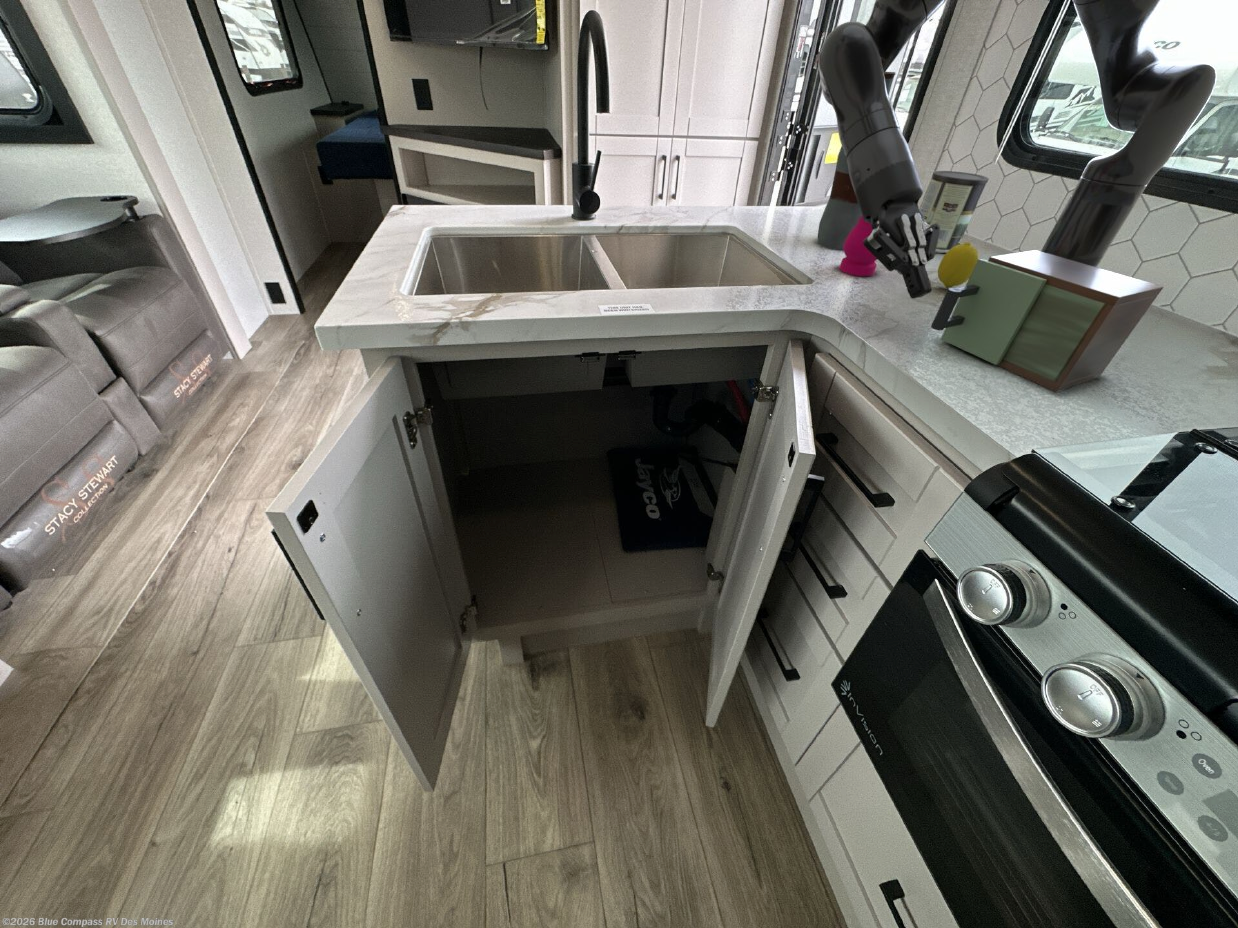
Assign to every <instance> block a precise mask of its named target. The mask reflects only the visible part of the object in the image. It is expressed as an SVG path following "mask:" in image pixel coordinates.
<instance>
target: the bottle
mask: <svg viewBox="0 0 1238 928" xmlns="http://www.w3.org/2000/svg"><path fill="white" fill-rule="evenodd" d="M896 74H897V73H896V72H895V71H886V72H885V73H884V78H885V84H886V89H887V93H888V96H890V92H891V89H892V86H893V82H894V79H895V78H894V77H895V76H896ZM861 216H862V213H861V210H860V207H859V204H858V201H857V198H856V195H855V192H854V188H853V185H852V182H851V179H850V175H849V170H848V164H847V160H846V157H845V154H844V151H843V148H842V145H841V147H840V149H839V152H838V154H837V159H836V165H835V171H834V175H833V181H832V185H831V189H830V194H829V199H828V200H827V203H826V205H825V208H824V211H823V213H822V215H821V218H820V220H819V224H818V230H817V244H818V245H819V246H821V247H824V248H826V249H827V248H828V249H832V250H838V251H844V250H843V246H844V243H845V240H846V238H847V237H848V235H849V233H850V232H851V231H852V229H853V228H854V227H855V225H856V224H857V223H858V221H859V219H860V218H861Z"/></svg>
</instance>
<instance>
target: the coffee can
mask: <svg viewBox="0 0 1238 928" xmlns="http://www.w3.org/2000/svg"><path fill="white" fill-rule="evenodd" d="M989 179H990V178H989V177H988V176H985V175H981V174H976V173H970V172H964V171H954V170H953V171H952V170H937V171H936V170H935V171H933V172H932V177H931V181H930V183H929V185H928V187H927V191H926V193H925V197H924V198H923V201H922V204H921V206H920V208H919V209H920V211H921V212H922V213H923V215H924V222H925V223H927V224H928V225H930V226H932V225H933V224H935V223H937V224H938V225H939V226H940V232H939V237H938V242H937V247H936V252H935V253H938V254H946V253H947V252H948V251H949V250H950V249H951V248H952V247H954V246H956V245H959V244H961V242H962V240H963V237H964V236H965V233H966V231H967V228H968V226H969V224H970V221H971V220H972V217H973V216H974V215H973V214H974V212H975V210H976V208H977V206H978V203H979V201H980V198H981V196H982V194H983V192H984V190H985V187H986V185H987V184H988V182H989Z"/></svg>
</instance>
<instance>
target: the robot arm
mask: <svg viewBox="0 0 1238 928" xmlns="http://www.w3.org/2000/svg"><path fill="white" fill-rule="evenodd" d="M945 2H947V0H875V1H874V4H873V8H872V11H871V14H870V16H869V18H868V21H867V22H866V23H863V22H860V21H854V20H853V21H846V22H843V23H841V24H839V25H838V26H836V27H835V28H833V30H832V31H831V32H829V34H828V35H827V37H826V38H825V40H824V42H823V44H822V46H821V48H820V51H819V56H818V72H819V78H820V86H821V92H822V96H823V98H824V99H825V101H826V103H828V104H829V105H830V106H832V107H833V110H834V113H835V117H836V125H837V133H838V137H839V142H840V145H841V146H842V148H843V151H844V154H845V157H846V160H847V164H848V170H849V175H850V179H851V182H852V185H853V188H854V192H855V195H856V198H857V201H858V204H859V207H860V210H861V213H862V216H863V219H864V221H865V222H867V223H871V228H872V230H873V231H872V233H871V235H870V236H868V237H867V238H866V239H864V240H863V245H864V246H865V247H866V248H867V249H868V250H869V251H870V252H871V253H872V254H873V255H874V256H875V257H876V258H877V260H878V261H879V262H880V264H881V265H883V267H884V268H885V269H887V270H888V272H893V271H897V274H899V275H902V278H903V281H904V285H905V288H906V291H907V293H908V294H909V297H910V299H912V300H915V299H918V298H919V299H920V298H922V297H924V296H926V295H928V294H930V293H931V292H932V291H933V288H932V284H931V280H930V278H929V275H928V271H927V268H926V265H927V264H928V262H930V261H932V260H933V259H935V257H936V253H937V252H936V247H937V242H938V237H939V232H940V226H939V225H938V224H937V223H935V224H933V225H932V226H930V225H928V224H927V223H925V222H924V215H923V213H922V212H921V211H920V209H921V208H920V207H919V205H918V204H919V201H920V199H921V198H922V197H923V194H924V188H923V186H922V183H921V180H920V177H919V173H918V170H917V168H916V165H915V161H914V158H913V156H912V152H911V150H910V146H909V144H908V142H907V140H906V138H905V136H904V134H903V133H902V129H901V127H900V124H899V121H898V117H897V114H896V112H895V109H894V107H893V104H892V102H891V99H890V97H889V96H890V95H889V96H888V93H887V89H886V84H885V78H884V73H885V72H887V71H888V69H889V68H890V67H891V66H892V64H893V63H894V61H895V60H896V58H897V57H898V56H899V54H900V53H901V52H902V50H903V49H904V47H905V46H906V44H907V43H908V41H909V40H910V39H911V37H912V36H913V35H914V34H915V33H917V31H919V30H920V28H922V27H923V25H924V24H925V23H926V22H927V21H928V20H929V19H930V18H931V17H932V16H933V15H934V14H935V13H936V12H937V11H938V10H939V9H940V8H941V7H942V6H943V5H944V4H945ZM1072 2H1073V5H1074V9H1075V11H1076V14H1077V17H1078V20H1079V22H1080V25H1081V27H1082V30H1083V32H1084V34H1085V37H1086V40H1087V43H1088V47H1089V49H1090V54H1091V56H1092V59H1093V62H1094V66H1095V68H1096V73H1097V77H1098V82H1099V88H1100V94H1101V100H1102V106H1103V112H1104V116H1105V119H1106V121H1107V123H1108V124H1109V126H1110V127H1112V128H1113V129H1115V130H1118V131H1121V132H1125V133H1133V134H1132V135H1131V136H1130V138H1129V139H1128V141H1127V142H1126V144H1125V145H1124V146H1123V147H1121V148H1120V149H1118V150H1116V151H1114V152H1111V153H1109V154H1105V155H1100V156H1096V157H1094V158H1092V159H1091V160H1089V162H1088V163H1087V165H1086V167H1085V168H1084V171H1083V172H1082V174H1081V176H1080V178H1079V179H1078V181H1077V183H1076V185H1075V187H1074V189H1073V191H1072V193H1071V195H1070V196H1069V197H1068V199H1067V202H1066V204H1065V206H1064V208H1063V209H1062V211H1061V213H1060V215H1059V216H1058V219H1057V220H1056V222H1055V224H1054V226H1053V228H1052V229H1051V231H1050V233H1049V235H1048V237H1047V239H1046V241H1045V243H1044V244H1043V246H1042V248H1041V250H1040V251H1041V252H1044V253H1048V254H1051V255H1055V256H1058V257H1062V258H1065V259H1069V260H1072V261H1076V262H1079V263H1083V264H1086V265H1090V266H1093V267H1097V268H1098V266H1099V265H1100V263H1101V261H1102V260H1103V258H1104V256H1105V255H1106V253H1107V252H1108V250H1109V248H1110V247H1111V245H1112V244H1113V242H1114V240H1115V239H1116V237H1117V235H1118V234H1119V232H1120V231H1121V229H1122V227H1123V226H1124V224H1125V222H1126V221H1127V219H1128V218H1129V216H1130V214H1131V213H1132V211H1133V210H1134V208H1135V206H1136V204H1137V203H1138V201H1139V200H1140V198H1141V196H1142V195H1143V193H1144V191H1145V190H1146V188H1147V186H1148V185H1149V184H1150V181H1151V180H1152V179H1153V178H1154V176H1156V174H1157V173H1158V172H1159V171H1160V170H1161V169H1162V168H1163V167H1164V166H1165V165H1166V164H1167V162H1168V161H1169V160H1170V159H1171V157H1172V155H1173V154H1174V153H1175V151H1176V150H1177V148H1178V147H1179V145H1180V144H1181V142H1182V141H1183V139H1184V138H1185V136H1186V135H1187V134H1188V132H1189V131H1190V129H1191V128H1192V126H1193V125H1194V123H1195V122H1196V120H1197V119H1198V117H1199V116H1200V114H1201V113H1202V111H1203V110H1204V109H1205V107H1206V105H1207V103H1208V102H1209V100H1210V99H1211V96H1212V94H1213V91H1214V89H1215V86H1216V83H1217V78H1218V77H1217V76H1218V75H1217V70H1216V68H1215V66H1214V65H1212V64H1211V63H1207V62H1200V61H1199V62H1198V61H1165V60H1163V59H1162V58H1161V57H1160V56H1159V54H1158V52H1157V49H1156V47H1155V43H1154V39H1153V35H1152V27H1153V23H1154V21H1155V19H1156V17H1157V15H1158V13H1159V11H1160V10H1161V7H1162V5H1163V3H1164V0H1072Z"/></svg>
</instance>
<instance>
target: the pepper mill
mask: <svg viewBox="0 0 1238 928" xmlns="http://www.w3.org/2000/svg"><path fill="white" fill-rule="evenodd" d="M872 231H873V230H872V228H871V223H867V222H865V221H864V219H863V216H861V218H860V219H859V221H858V223H857V224H856V225H855V227H854V228H853V229H852V231H851V232H850V233H849V235H848V237H847V238H846V240H845V243H844V246H843V250H842V251H843V252H844V253H843V254H844V255H845V257H843V258H842V259H841V262H840V264H839V270H840V271H841V272H843V273H844V274H847V275H850V276H855V277H871V276H873V275H874V274H875V272H876V268H877V262H876V261H877V260H878V259H877V258H876V257H875V256H874V255H873V254H872V253H871V252H870V251H869V250H868V249H867V248H866V247H865V246H864V245H863V240H864V239H866V238H867V237H868V236H870V235H871V233H872Z"/></svg>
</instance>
